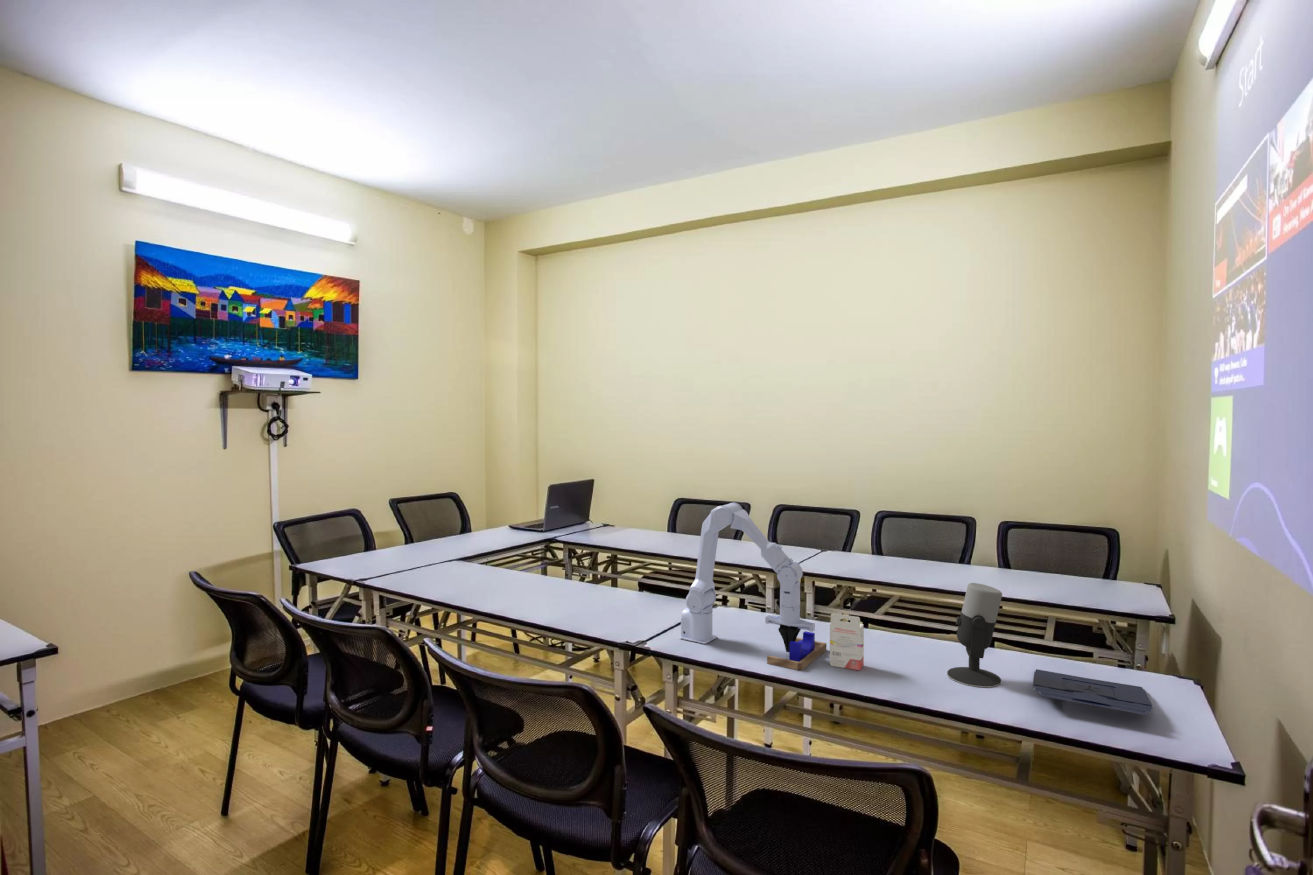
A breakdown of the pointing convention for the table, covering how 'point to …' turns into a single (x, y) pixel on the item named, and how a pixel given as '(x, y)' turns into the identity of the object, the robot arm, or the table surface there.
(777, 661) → the frame
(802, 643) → the blue curved bracket
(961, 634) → the microphone
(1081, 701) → the grooved grey slab
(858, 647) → the ink cartridge box
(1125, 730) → the table surface
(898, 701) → the table surface
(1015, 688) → the table surface
